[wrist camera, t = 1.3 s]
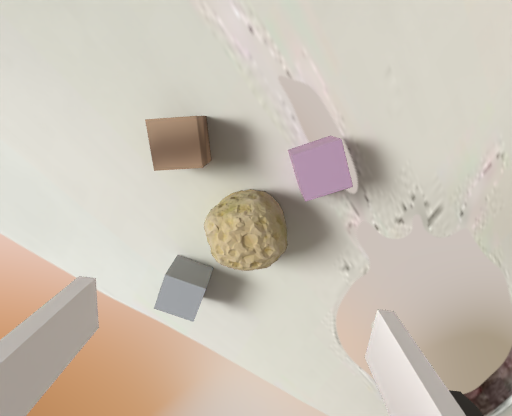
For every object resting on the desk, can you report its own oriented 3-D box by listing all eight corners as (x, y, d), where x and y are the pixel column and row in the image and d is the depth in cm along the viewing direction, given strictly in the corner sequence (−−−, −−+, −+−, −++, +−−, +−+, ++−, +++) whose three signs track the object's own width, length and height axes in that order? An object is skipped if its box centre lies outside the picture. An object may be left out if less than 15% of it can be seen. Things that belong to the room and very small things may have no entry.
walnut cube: (162, 119, 32) (145, 119, 27) (206, 116, 32) (196, 116, 27) (169, 163, 34) (154, 170, 29) (211, 160, 33) (202, 167, 29)
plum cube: (287, 150, 33) (291, 155, 28) (330, 135, 32) (341, 139, 27) (299, 189, 34) (305, 201, 29) (340, 176, 34) (352, 186, 29)
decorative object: (286, 227, 39) (320, 214, 30) (242, 287, 36) (266, 294, 27) (234, 184, 39) (253, 157, 29) (185, 241, 35) (189, 232, 26)
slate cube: (177, 254, 37) (165, 274, 33) (213, 267, 38) (206, 289, 33) (167, 284, 39) (153, 308, 34) (202, 296, 39) (193, 321, 35)
